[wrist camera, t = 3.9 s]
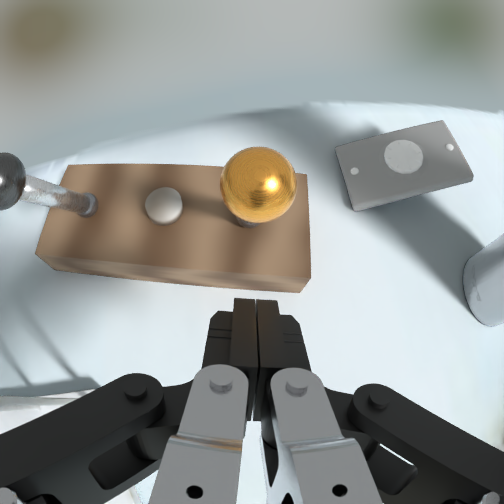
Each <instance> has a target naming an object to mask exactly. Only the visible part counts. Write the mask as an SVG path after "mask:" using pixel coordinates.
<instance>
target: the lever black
mask: <svg viewBox="0 0 504 504" xmlns="http://www.w3.org/2000/svg"><path fill="white" fill-rule="evenodd" d="M18 200H20V201H25V202H29V203H34V204H39V205H43V206H48V207H53V208H57V209H62V210H67V211H71V212H76V213H77V214H78V215H79V216H81V217H83V218H89V217H92V216H93V215H94V214H95V213H96V212H97V210H98V205H99V204H98V200H97V198H96V196H95V195H94V194H92V193H89V192H85V193H82V194H81V193H79V192H76V191H73V190H70V189H67V188H64V187H61V186H58V185H55V184H52V183H49V182H47V181H44V180H41V179H38V178H35V177H32V176H29V175H26V172H25V168H24V166H23V164H22V162H21V161H20V160H19V159H18V158H17V157H16V156H14V155H13V154H10V153H0V210H6V209H8V208H10V207H12V206H13V205H15V204H16V203H17V202H18Z"/></svg>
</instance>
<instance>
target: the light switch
mask: <svg viewBox="0 0 504 504" xmlns="http://www.w3.org/2000/svg"><path fill="white" fill-rule="evenodd" d="M335 151H336V154H337V157H338V160H339V164H340V167H341V170H342V173H343V176H344V180H345V183H346V186H347V190H348V193H349V196H350V200H351V204H352V207H353V210H354V211H356V212H357V211H361V210H364V209H368V208H372V207H376V206H379V205H383V204H387V203H391V202H394V201H398V200H402V199H406V198H410V197H413V196H417V195H421V194H425V193H429V192H433V191H437V190H440V189H444V188H448V187H452V186H456V185H460V184H464V183H468V182H471V181H472V180H473V173H472V171H471V169H470V167H469V165H468V163H467V161H466V159H465V157H464V155H463V154H462V152H461V150H460V148H459V146H458V145H457V143H456V141H455V139H454V138H453V136H452V134H451V132H450V131H449V129H448V127H447V126H446V124H445V123H444V121H442V120H441V121H436V122H432V123H427V124H423V125H418V126H414V127H410V128H405V129H401V130H397V131H393V132H389V133H385V134H381V135H377V136H373V137H370V138H366V139H362V140H358V141H355V142H351V143H348V144H344V145H341V146H337V147H335ZM384 156H385V157H384Z"/></svg>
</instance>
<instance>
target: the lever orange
mask: <svg viewBox="0 0 504 504" xmlns="http://www.w3.org/2000/svg"><path fill="white" fill-rule="evenodd" d="M220 192H221V196H222V199H223V201H224V203H225V205H226V206H227V208H228V209H229V210H230V211H231V212H232V213H233V214H234V215H236V219H237V221H238V223H239V224H240V225H241V226H243V227H245V228H254V227H257V226H258V225H259V224H260V223H265V222H269V221H272V220H275V219H277V218H279V217H280V216H282V215H283V214H284V213H285V212H286V211H287V210H288V209H289V208H290V206H291V205H292V203H293V201H294V199H295V196H296V192H297V178H296V174H295V171H294V169H293V167H292V165H291V163H290V162H289V161H288V160H287V159H286V158H285V157H284V156H283V155H282V154H280V153H279V152H277V151H275V150H273V149H270V148H267V147H250V148H247V149H244V150H241V151H240V152H238V153H236V154H235V155H234V156H233V157H231V158H230V160H229V161H228V162H227V163H226V165H225V167H224V169H223V171H222V174H221V178H220Z"/></svg>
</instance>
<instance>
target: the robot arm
mask: <svg viewBox="0 0 504 504" xmlns="http://www.w3.org/2000/svg"><path fill="white" fill-rule="evenodd" d="M463 284H464V291H465V296H466V299H467V302H468V305H469V307H470V309H471V311H472V312H473V314H474V315H475V317H476V318H477V319H478V320H479V321H480V322H481V323H483V324H485V325H487V326H491V327H492V326H497V325H500V324H502V323H504V234H502V235H501V236H500V237H498V238H497V239H496V240H494V241H493V242H492V243H490V244H489V245H487V246H486V247H485V248H483V249H482V250H481V251H479V252H478V253H476V254H475V255H473V256H472V257H471V258H470V259H469V260H468V261H467V264H466V266H465V269H464V275H463ZM252 408H253V421H261V430H262V431H261V436H260V448H261V455H262V462H263V469H264V476H265V483H266V490H267V502H266V504H383V503H384V504H504V452H503V451H501V450H499V449H497V448H495V447H493V446H491V445H489V444H487V443H485V442H484V441H482V440H480V439H478V438H476V437H474V436H472V435H471V434H469V433H467V432H465V431H463V430H462V429H460V428H458V427H456V426H454V425H453V424H451V423H449V422H447V421H445V420H444V419H442V418H440V417H438V416H437V415H435V414H433V413H431V412H430V411H428V410H426V409H424V408H423V407H421V406H419V405H418V404H416V403H414V402H412V401H411V400H409V399H407V398H406V397H404V396H402V395H401V394H399V393H397V392H396V391H394V390H392V389H391V388H389V387H387V386H384V385H381V384H366V385H363V386H361V387H359V388H358V389H357V390H356V391H355V393H354V395H352V394H347V393H342V392H337V391H333V390H330V389H328V388H326V387H324V386H323V383H322V381H321V380H320V378H319V377H318V376H317V375H315V374H314V373H312V372H311V368H310V364H309V360H308V356H307V352H306V348H305V344H304V340H303V336H302V332H301V328H300V325H299V323H298V322H297V321H296V320H295V319H294V318H293V316H292V315H280V313H279V308H278V302H277V301H276V300H259V299H256V304H255V299H242V298H234V309H233V312H228V311H217V312H216V314H215V315H214V316H213V317H212V318H211V319H210V324H209V330H208V335H207V341H206V346H205V352H204V358H203V363H202V368H201V370H200V371H199V372H198V373H197V374H196V375H195V377H194V379H193V380H191V381H190V382H187V383H185V384H182V385H176V386H167V387H162V385H161V384H160V382H159V381H158V380H157V379H155V378H154V377H152V376H149V375H146V374H141V373H132V374H127V375H124V376H122V377H120V378H118V379H116V380H114V381H112V382H110V383H108V384H106V385H104V386H102V387H100V388H98V389H96V390H94V391H92V392H90V393H88V394H86V395H84V396H82V397H80V398H78V399H76V400H74V401H72V402H70V403H68V404H65V405H63V406H61V407H59V408H57V409H55V410H53V411H51V412H49V413H46V414H44V415H42V416H40V417H38V418H36V419H34V420H31V421H29V422H27V423H25V424H22V425H20V426H18V427H16V428H13V429H11V430H9V431H7V432H4V433H2V434H0V504H104V503H106V502H108V501H110V500H111V499H113V498H115V497H116V496H118V495H120V494H121V493H123V492H124V491H126V490H128V489H129V488H131V487H132V486H134V485H135V484H137V483H138V482H140V481H142V480H143V479H145V478H146V477H148V476H149V475H151V474H152V473H154V472H155V471H156V470H158V469H159V471H158V474H157V477H156V480H155V484H154V487H153V490H152V494H151V497H150V500H149V503H148V504H236V499H237V490H238V481H239V472H240V463H241V454H242V442H243V438H244V436H245V431H246V423H247V421H251V416H252ZM380 443H381V444H383V445H384V446H386V447H387V448H389V449H390V450H392V451H393V452H395V453H396V454H398V455H400V456H401V457H403V458H404V459H406V460H408V461H409V462H411V463H412V464H414V465H410V464H408V463H407V462H405V461H403V460H402V459H400V458H399V457H397V456H395V455H394V454H392V453H391V452H389V451H388V450H386V449H385V448H383V447H382V446H380Z"/></svg>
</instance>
